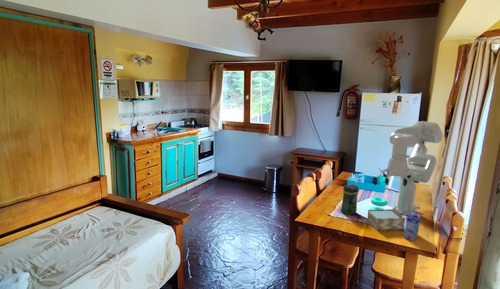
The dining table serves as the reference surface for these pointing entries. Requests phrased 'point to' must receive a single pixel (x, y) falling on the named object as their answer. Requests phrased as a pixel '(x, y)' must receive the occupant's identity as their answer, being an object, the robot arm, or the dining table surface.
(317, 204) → the dining table surface
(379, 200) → the donuts
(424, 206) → the dining table surface
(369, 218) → the birch box
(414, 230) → the ink cartridge box
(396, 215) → the cover plate
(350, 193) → the coffee jar
